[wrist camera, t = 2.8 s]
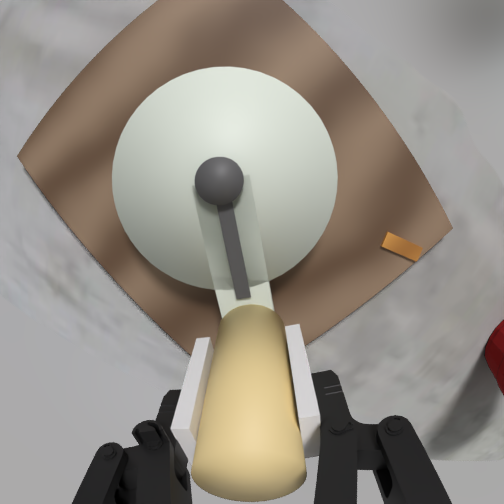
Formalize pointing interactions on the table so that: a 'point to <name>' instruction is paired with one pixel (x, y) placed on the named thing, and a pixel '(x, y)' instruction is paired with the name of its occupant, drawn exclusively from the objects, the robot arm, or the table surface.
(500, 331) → the plastic cup
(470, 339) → the table surface
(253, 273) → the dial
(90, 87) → the base plate
